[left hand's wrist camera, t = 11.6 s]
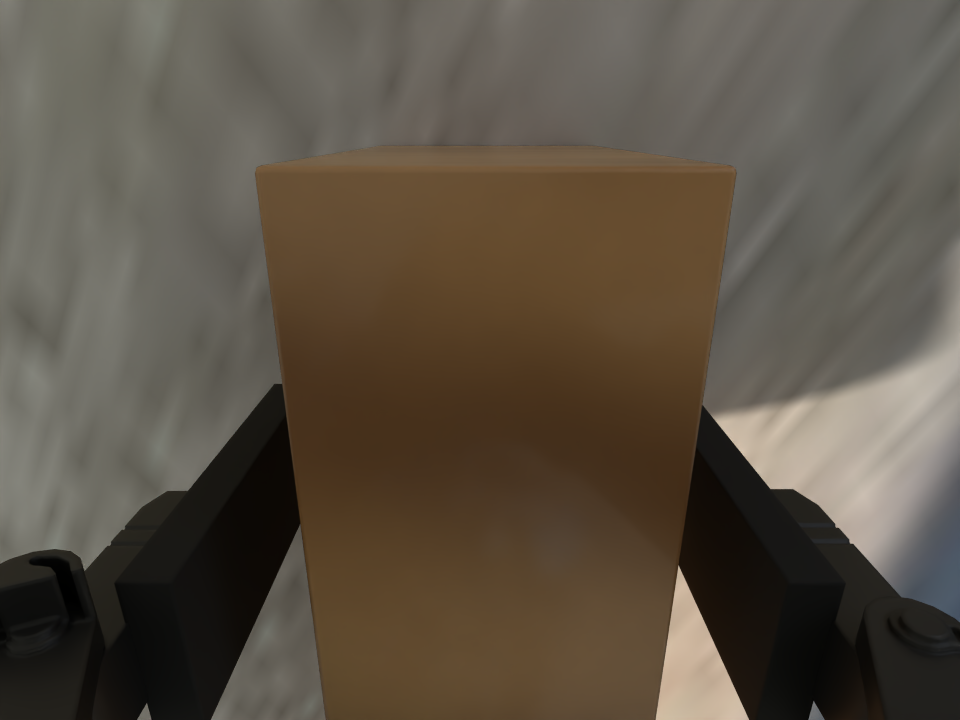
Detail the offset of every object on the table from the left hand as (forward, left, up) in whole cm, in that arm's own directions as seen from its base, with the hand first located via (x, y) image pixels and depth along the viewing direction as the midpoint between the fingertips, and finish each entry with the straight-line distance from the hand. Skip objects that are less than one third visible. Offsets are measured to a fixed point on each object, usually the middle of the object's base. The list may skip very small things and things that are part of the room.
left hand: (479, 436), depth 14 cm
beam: (+23, +17, -2) cm, 29 cm away
